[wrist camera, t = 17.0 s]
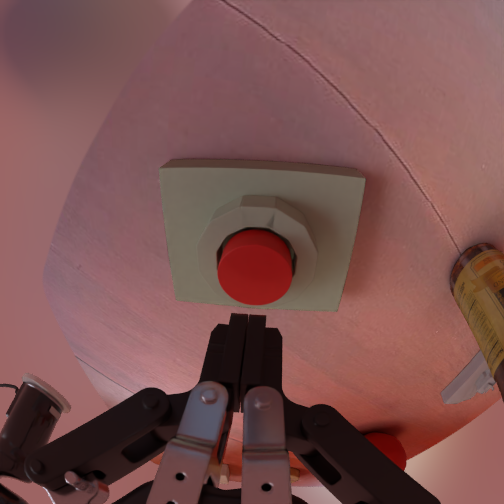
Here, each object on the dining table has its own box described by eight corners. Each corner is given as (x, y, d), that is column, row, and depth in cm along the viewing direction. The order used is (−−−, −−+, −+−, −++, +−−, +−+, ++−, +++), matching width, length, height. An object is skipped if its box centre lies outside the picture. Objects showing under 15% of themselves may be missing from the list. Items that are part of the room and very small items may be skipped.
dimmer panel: (178, 465, 54) (176, 476, 52) (169, 454, 49) (166, 466, 47) (229, 474, 54) (228, 484, 51) (227, 464, 48) (226, 476, 46)
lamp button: (223, 284, 18) (218, 303, 16) (221, 226, 16) (215, 242, 14) (287, 289, 18) (288, 308, 16) (294, 231, 16) (295, 247, 14)
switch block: (183, 283, 23) (168, 316, 19) (170, 159, 18) (146, 176, 14) (333, 293, 22) (341, 329, 19) (356, 168, 17) (375, 188, 13)
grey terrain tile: (486, 386, 30) (493, 403, 27) (434, 401, 31) (440, 421, 28) (521, 335, 24) (532, 354, 21) (469, 349, 25) (480, 373, 22)
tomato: (321, 431, 36) (323, 500, 26) (410, 415, 33) (423, 480, 23) (321, 455, 42) (322, 509, 32) (394, 443, 40) (401, 494, 30)
